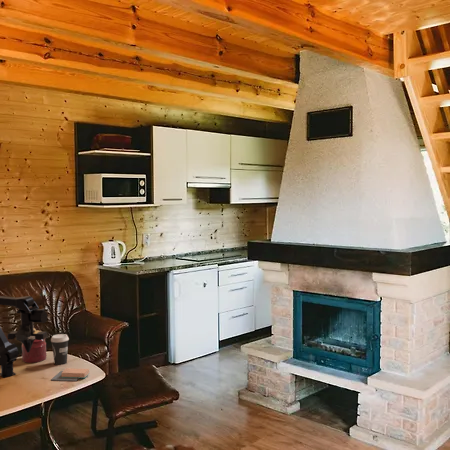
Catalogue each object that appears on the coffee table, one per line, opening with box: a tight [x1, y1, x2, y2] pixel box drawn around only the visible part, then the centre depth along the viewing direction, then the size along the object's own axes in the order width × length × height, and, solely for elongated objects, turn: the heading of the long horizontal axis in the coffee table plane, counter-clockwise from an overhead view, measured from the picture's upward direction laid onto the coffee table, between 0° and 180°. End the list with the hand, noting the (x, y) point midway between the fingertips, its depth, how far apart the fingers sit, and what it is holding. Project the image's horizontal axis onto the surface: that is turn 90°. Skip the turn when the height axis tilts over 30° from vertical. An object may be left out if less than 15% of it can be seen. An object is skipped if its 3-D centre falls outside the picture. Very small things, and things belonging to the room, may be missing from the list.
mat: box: [50, 370, 80, 382], centre depth 273 cm, size 13×12×1 cm
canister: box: [21, 327, 48, 364], centre depth 299 cm, size 13×13×18 cm
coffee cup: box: [50, 333, 70, 366], centre depth 293 cm, size 10×10×15 cm
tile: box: [61, 367, 90, 379], centre depth 272 cm, size 2×6×12 cm
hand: (28, 352), depth 272 cm, fingers closed
